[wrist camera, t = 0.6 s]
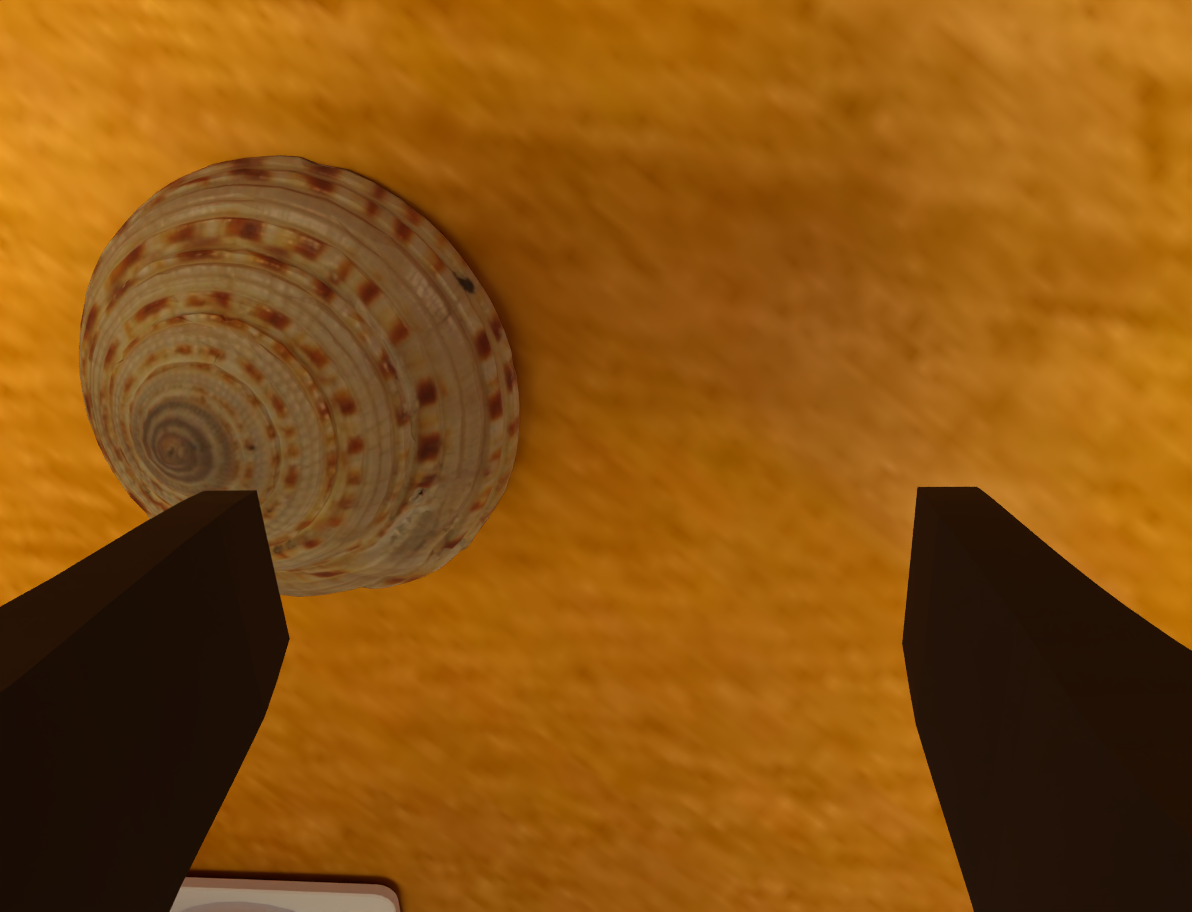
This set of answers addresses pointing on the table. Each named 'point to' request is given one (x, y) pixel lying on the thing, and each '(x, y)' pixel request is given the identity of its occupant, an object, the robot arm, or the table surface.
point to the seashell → (302, 369)
